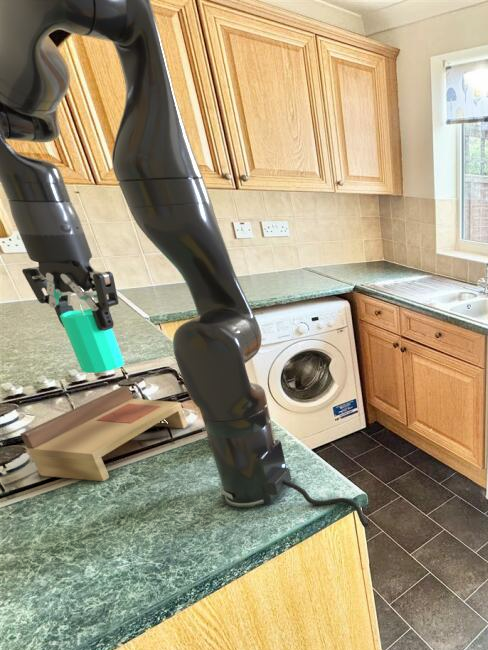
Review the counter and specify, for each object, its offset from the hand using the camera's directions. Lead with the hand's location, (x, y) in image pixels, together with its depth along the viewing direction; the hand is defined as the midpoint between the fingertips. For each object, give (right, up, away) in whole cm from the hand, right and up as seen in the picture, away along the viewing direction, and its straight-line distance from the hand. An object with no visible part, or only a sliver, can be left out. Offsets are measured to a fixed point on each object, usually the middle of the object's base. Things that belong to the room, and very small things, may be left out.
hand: (88, 327), depth 76 cm
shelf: (-3, -23, +10) cm, 26 cm away
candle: (0, -7, +3) cm, 8 cm away
